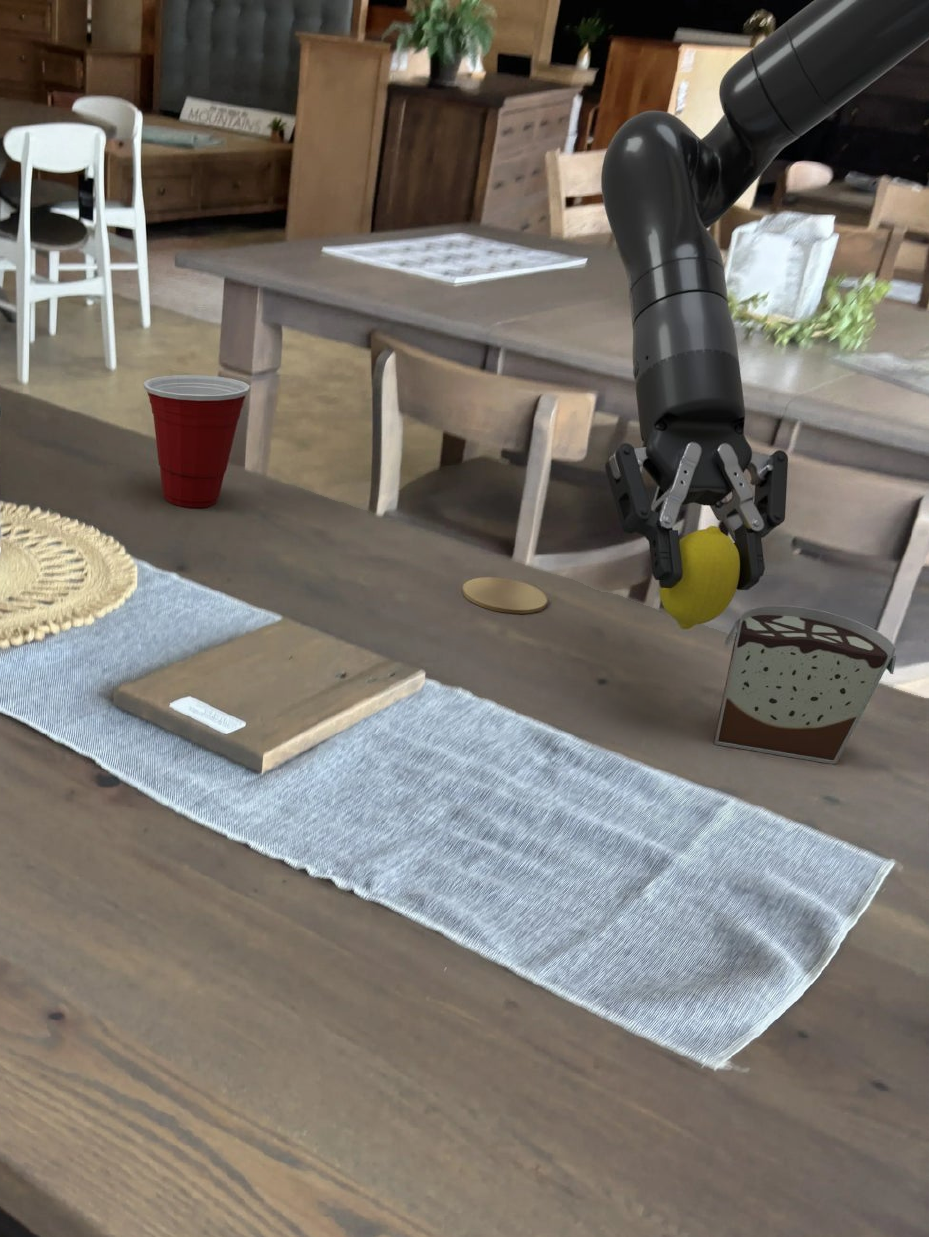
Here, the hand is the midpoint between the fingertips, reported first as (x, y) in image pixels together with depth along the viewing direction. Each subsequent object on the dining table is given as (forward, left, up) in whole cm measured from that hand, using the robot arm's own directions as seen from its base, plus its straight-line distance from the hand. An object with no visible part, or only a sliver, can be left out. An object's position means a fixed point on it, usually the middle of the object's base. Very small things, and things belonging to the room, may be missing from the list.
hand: (710, 584), depth 99 cm
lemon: (0, -2, -4) cm, 5 cm away
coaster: (+4, -28, -12) cm, 31 cm away
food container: (-9, 0, -13) cm, 16 cm away
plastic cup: (+31, -53, -13) cm, 62 cm away
